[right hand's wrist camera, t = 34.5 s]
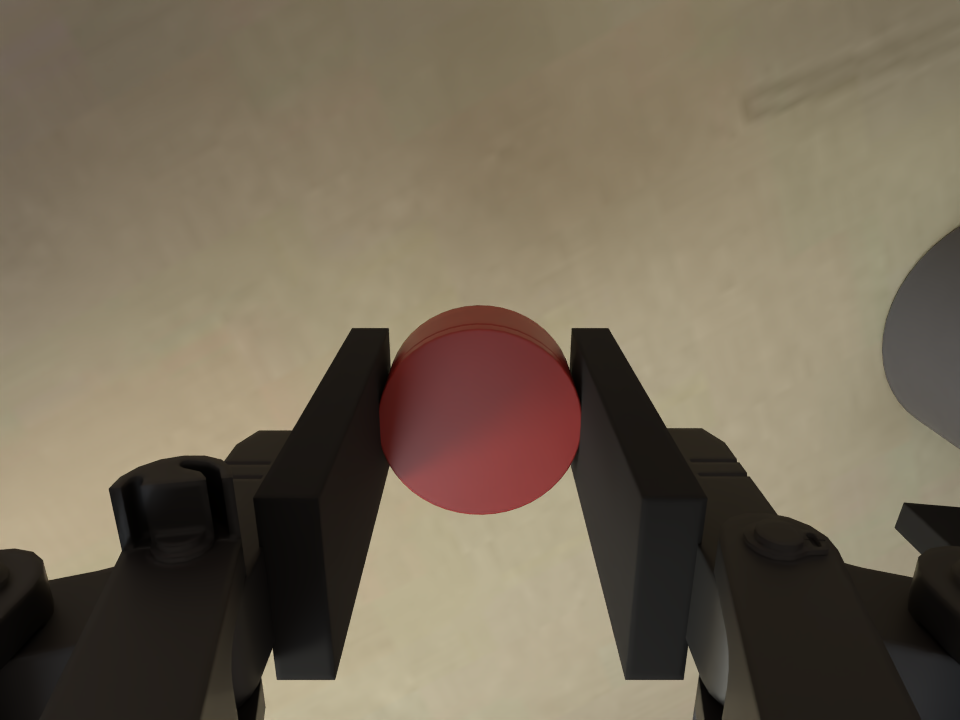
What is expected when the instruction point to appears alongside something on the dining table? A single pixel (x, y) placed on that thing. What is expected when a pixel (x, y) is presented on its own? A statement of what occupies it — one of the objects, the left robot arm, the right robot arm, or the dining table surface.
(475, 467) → the cap
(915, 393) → the bottle
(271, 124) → the dining table surface
